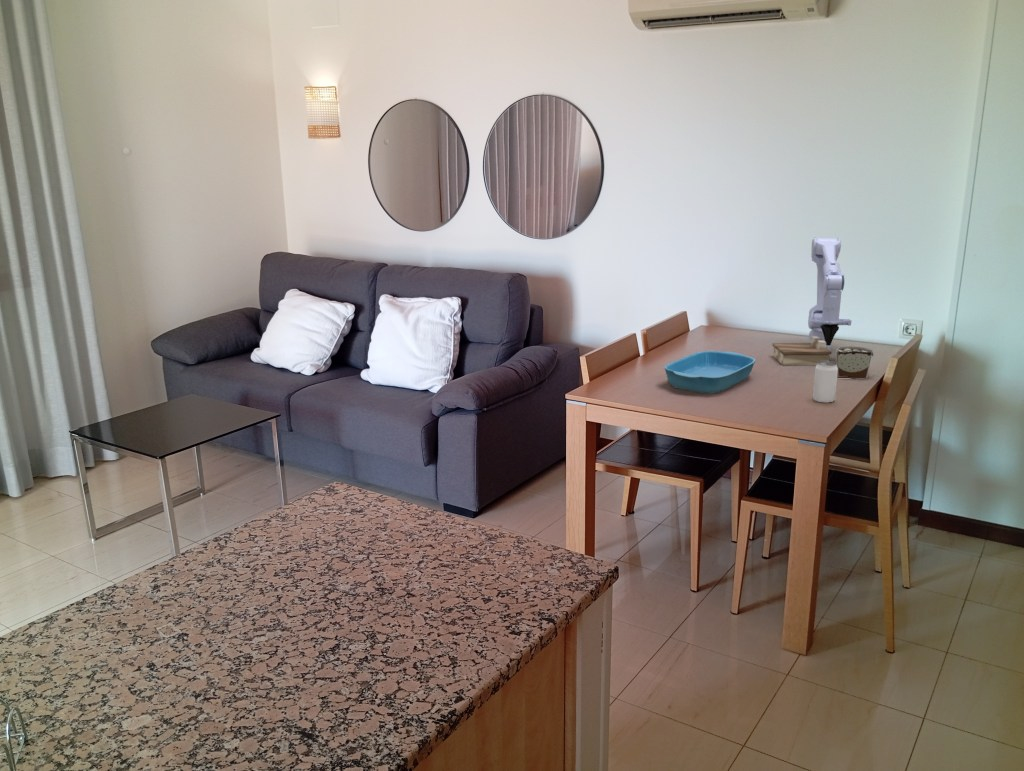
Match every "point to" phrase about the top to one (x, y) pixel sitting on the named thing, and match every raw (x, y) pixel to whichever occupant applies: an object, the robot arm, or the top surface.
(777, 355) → the beige open tray
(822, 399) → the can
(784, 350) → the lid
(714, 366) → the casserole dish
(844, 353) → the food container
